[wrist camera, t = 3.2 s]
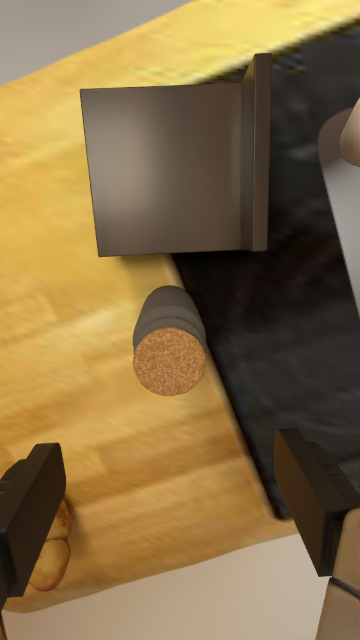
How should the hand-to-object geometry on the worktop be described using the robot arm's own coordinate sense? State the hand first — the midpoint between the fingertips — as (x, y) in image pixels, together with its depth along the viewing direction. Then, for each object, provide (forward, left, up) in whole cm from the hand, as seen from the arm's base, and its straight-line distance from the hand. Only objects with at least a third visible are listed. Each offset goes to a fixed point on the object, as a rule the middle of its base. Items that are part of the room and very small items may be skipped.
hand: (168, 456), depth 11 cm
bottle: (0, 0, -24) cm, 24 cm away
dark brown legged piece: (+1, +13, -24) cm, 27 cm away
